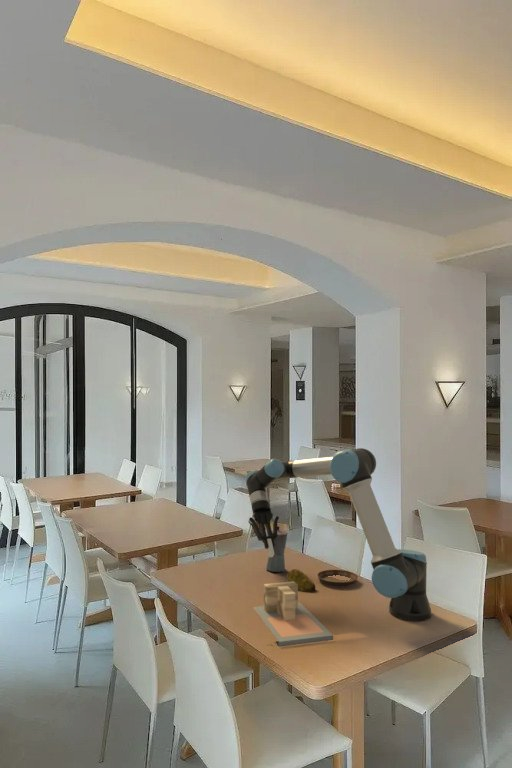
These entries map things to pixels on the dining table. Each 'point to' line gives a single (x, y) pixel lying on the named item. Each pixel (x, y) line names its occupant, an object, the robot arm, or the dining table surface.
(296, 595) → the t block
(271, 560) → the moka pot
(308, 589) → the potato
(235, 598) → the dining table surface
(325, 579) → the plant saucer
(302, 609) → the board
